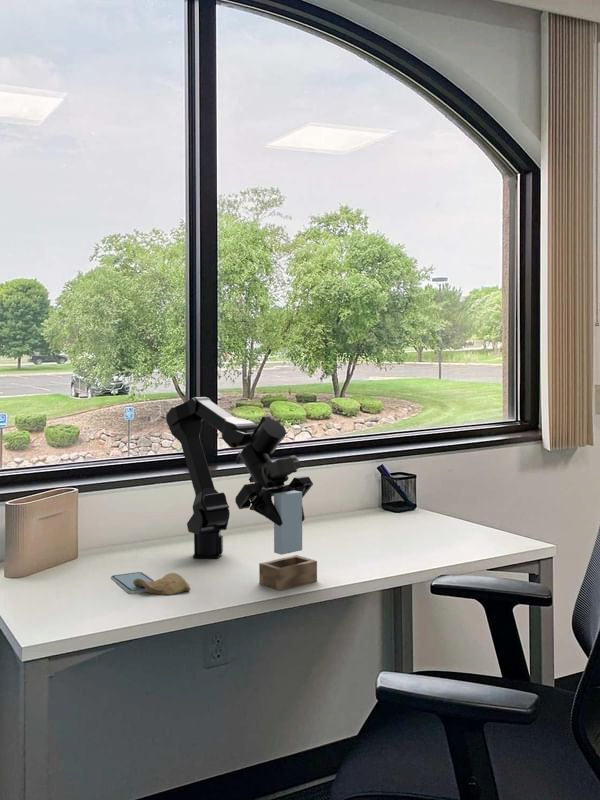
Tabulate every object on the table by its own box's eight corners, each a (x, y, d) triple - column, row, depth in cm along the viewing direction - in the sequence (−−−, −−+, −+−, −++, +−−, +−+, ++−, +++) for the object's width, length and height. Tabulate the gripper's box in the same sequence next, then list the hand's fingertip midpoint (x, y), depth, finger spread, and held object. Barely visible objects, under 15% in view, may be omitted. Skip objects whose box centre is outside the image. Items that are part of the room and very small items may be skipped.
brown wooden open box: (279, 590, 167) (279, 569, 167) (259, 583, 172) (259, 563, 172) (316, 580, 174) (316, 560, 174) (296, 574, 180) (296, 555, 179)
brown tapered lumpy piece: (168, 587, 176) (128, 584, 170) (173, 568, 176) (133, 564, 170) (192, 602, 167) (150, 599, 161) (197, 581, 167) (155, 578, 161)
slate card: (281, 554, 170) (281, 495, 169) (274, 552, 172) (273, 493, 171) (302, 550, 174) (302, 491, 173) (294, 548, 176) (294, 490, 175)
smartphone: (141, 571, 182) (163, 586, 169) (141, 575, 182) (163, 591, 169) (109, 575, 178) (129, 591, 165) (109, 579, 178) (129, 596, 165)
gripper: (242, 447, 168) (276, 506, 161) (307, 441, 181) (341, 495, 173) (221, 479, 175) (252, 537, 167) (285, 471, 187) (316, 524, 179)
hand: (292, 522), depth 171 cm, fingers closed on slate card, 6 cm apart
